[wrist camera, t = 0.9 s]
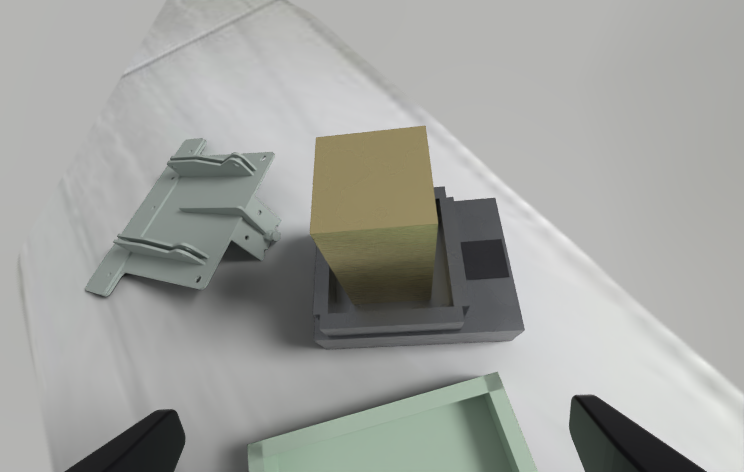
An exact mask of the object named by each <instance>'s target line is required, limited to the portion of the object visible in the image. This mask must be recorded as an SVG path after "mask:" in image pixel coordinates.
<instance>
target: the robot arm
mask: <svg viewBox="0 0 744 472" xmlns="http://www.w3.org/2000/svg"><path fill="white" fill-rule="evenodd" d="M569 429H570V434H571V437H572V440H573V442H574V445H575V447H576V450H577V452H578V455H579V457H580V460H581V462H582V465H583V467H584V470H585V472H707V471H705V470H704V469H702V468H701V467H699V466H698V465H696V464H695V463H693V462H692V461H690V460H689V459H688V458H686V457H685V456H683V455H682V454H680V453H679V452H677V451H676V450H674V449H673V448H671V447H670V446H669V445H667V444H666V443H664V442H663V441H661V440H660V439H658V438H657V437H655V436H654V435H652V434H651V433H649V432H648V431H647V430H645V429H644V428H642V427H641V426H639V425H638V424H636V423H635V422H633V421H632V420H630V419H629V418H628V417H626V416H625V415H623V414H622V413H620V412H619V411H617V410H616V409H614V408H613V407H611V406H610V405H609V404H607V403H606V402H604V401H603V400H601V399H600V398H598V397H597V396H594V395H575V396H573V397H572V400H571V409H570V420H569ZM184 445H185V433H184V430H183V427H182V424H181V422H180V419H179V416H178V414H177V412H176V411H175V410H173V409H166V410H157V411H154V412H153V413H151V414H150V415H148V416H147V417H145V418H144V419H142V420H141V421H139V422H138V423H136V424H135V425H133V426H132V427H130V428H129V429H127V430H126V431H124V432H123V433H121V434H120V435H118V436H117V437H115V438H114V439H112V440H111V441H109V442H108V443H107V444H105V445H104V446H102V447H101V448H99V449H98V450H96V451H95V452H93V453H92V454H90V455H89V456H87V457H86V458H84V459H83V460H81V461H80V462H78V463H77V464H75V465H74V466H72V467H71V468H69V469H68V470H66V471H65V472H174V470H175V468H176V465H177V463H178V460H179V458H180V455H181V453H182V450H183V448H184Z"/></svg>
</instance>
